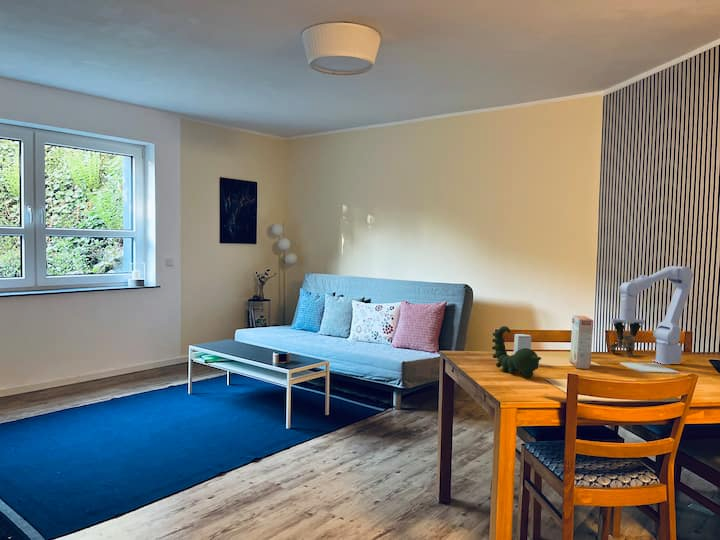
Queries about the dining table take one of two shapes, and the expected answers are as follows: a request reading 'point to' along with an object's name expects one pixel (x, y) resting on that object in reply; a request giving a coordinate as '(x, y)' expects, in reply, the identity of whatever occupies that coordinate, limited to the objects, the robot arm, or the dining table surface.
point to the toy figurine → (514, 357)
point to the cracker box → (581, 342)
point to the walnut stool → (627, 341)
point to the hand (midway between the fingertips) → (626, 339)
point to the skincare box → (522, 342)
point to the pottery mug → (613, 347)
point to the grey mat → (648, 367)
